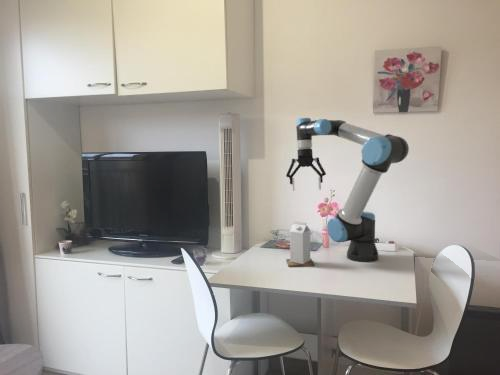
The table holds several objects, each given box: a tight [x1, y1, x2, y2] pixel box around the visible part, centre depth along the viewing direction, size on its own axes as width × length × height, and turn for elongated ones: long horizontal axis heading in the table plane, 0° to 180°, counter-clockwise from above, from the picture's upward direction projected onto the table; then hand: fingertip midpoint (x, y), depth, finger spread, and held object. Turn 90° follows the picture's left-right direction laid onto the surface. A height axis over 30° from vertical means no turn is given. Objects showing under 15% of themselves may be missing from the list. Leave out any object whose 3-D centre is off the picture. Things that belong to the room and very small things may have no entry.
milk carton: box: [289, 221, 311, 264], centre depth 199 cm, size 7×7×19 cm
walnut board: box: [285, 257, 315, 268], centre depth 200 cm, size 12×10×1 cm
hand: (306, 190), depth 215 cm, fingers open, 13 cm apart
